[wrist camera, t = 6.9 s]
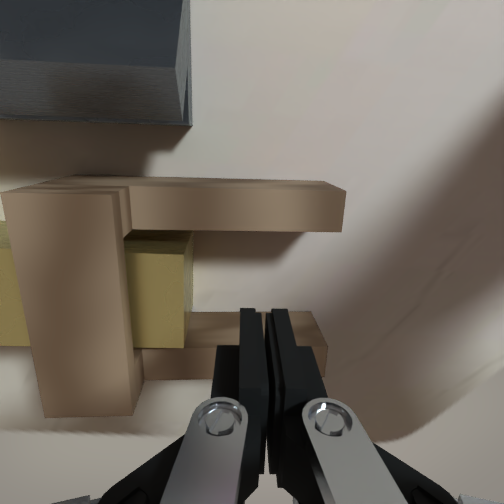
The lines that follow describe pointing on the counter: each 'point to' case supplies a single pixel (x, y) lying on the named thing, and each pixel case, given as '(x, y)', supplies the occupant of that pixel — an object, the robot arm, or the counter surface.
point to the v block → (96, 61)
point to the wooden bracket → (115, 279)
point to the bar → (139, 288)
